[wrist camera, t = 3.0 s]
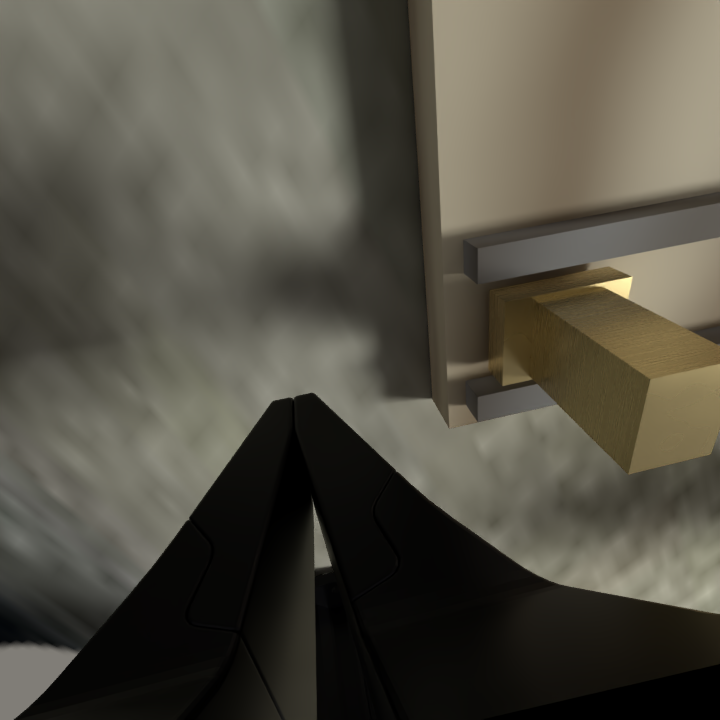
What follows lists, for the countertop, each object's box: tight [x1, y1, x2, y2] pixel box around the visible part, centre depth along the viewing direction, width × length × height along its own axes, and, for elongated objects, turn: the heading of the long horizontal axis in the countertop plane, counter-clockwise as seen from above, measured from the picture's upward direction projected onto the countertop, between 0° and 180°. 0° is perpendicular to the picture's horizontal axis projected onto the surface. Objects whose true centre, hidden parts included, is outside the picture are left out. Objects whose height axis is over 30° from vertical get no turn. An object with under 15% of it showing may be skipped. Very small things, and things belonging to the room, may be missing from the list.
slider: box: [488, 266, 720, 475], centre depth 9 cm, size 3×2×4 cm
